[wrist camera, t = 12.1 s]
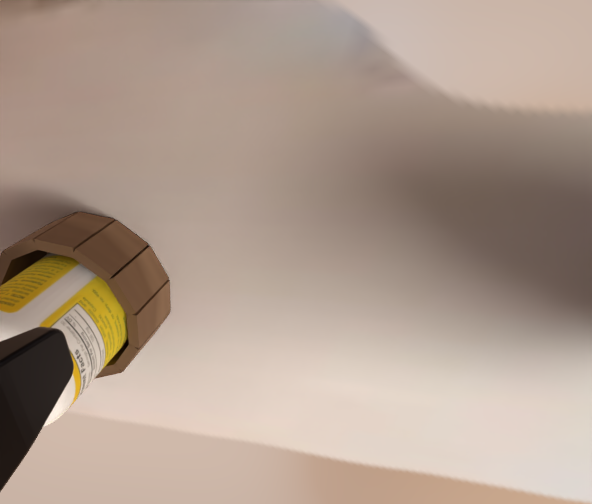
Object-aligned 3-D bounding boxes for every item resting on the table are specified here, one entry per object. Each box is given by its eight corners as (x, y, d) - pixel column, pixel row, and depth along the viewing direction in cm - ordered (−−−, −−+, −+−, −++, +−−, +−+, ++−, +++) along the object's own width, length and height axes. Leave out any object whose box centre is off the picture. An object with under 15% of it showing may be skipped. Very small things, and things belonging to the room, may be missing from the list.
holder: (194, 279, 23) (165, 314, 20) (133, 361, 26) (101, 400, 24) (68, 183, 22) (19, 207, 19) (22, 281, 26) (-23, 313, 23)
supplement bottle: (48, 286, 25) (-142, 429, 17) (77, 210, 23) (-132, 334, 14) (135, 343, 26) (-8, 510, 17) (174, 274, 23) (26, 433, 15)
